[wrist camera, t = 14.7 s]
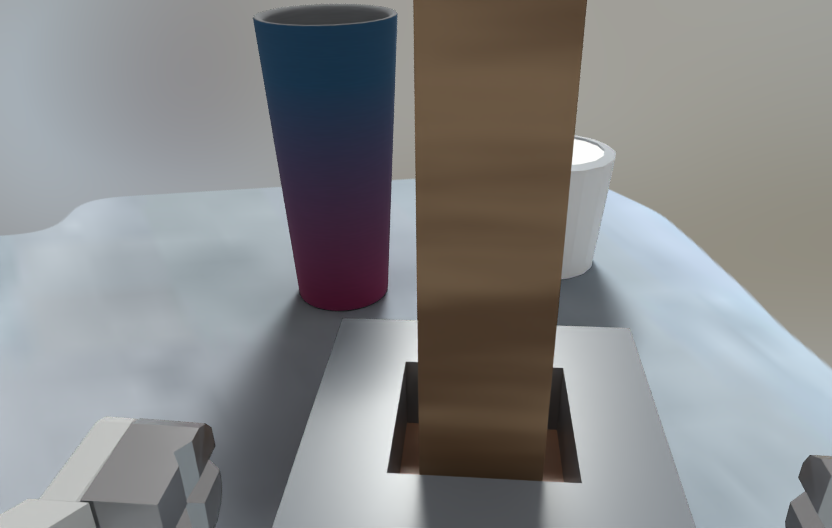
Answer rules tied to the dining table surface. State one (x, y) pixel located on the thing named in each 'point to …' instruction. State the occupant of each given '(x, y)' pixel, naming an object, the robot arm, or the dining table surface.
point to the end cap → (482, 497)
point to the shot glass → (585, 203)
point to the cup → (333, 143)
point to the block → (491, 225)
